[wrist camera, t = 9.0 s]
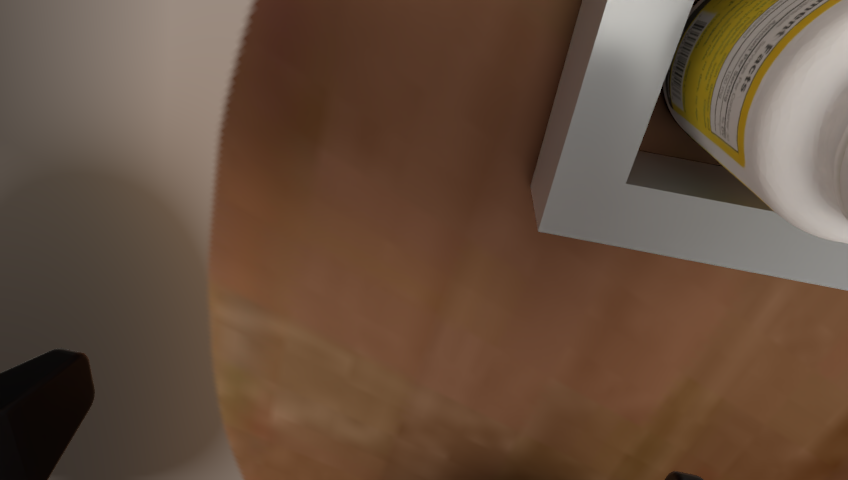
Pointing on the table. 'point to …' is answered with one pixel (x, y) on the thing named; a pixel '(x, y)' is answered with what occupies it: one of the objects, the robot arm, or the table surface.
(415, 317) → the table surface
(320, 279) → the table surface
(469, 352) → the table surface
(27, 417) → the robot arm
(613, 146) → the well
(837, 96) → the supplement bottle
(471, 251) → the table surface
